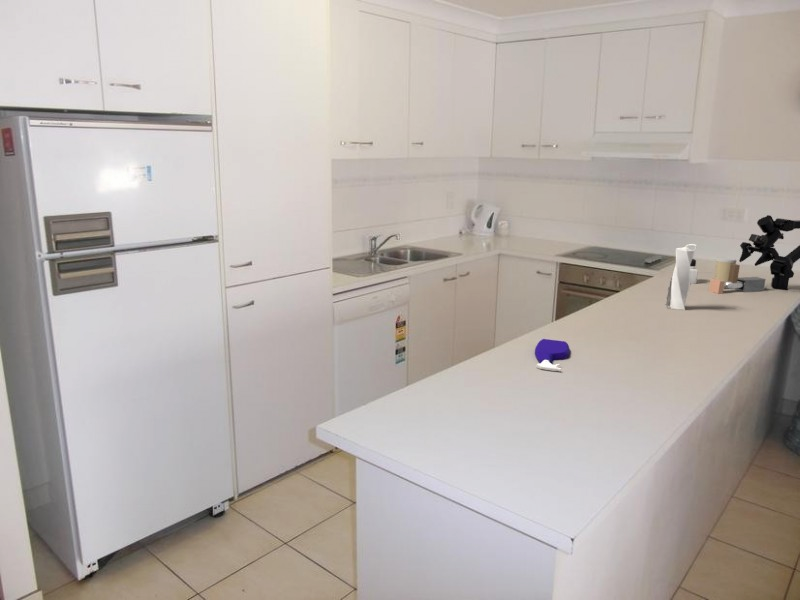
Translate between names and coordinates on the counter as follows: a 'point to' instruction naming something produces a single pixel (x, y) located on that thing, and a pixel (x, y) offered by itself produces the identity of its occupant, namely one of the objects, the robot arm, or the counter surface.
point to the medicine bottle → (693, 272)
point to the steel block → (752, 284)
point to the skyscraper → (680, 279)
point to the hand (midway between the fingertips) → (747, 263)
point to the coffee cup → (723, 268)
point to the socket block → (716, 286)
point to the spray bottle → (550, 353)
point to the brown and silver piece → (733, 278)
